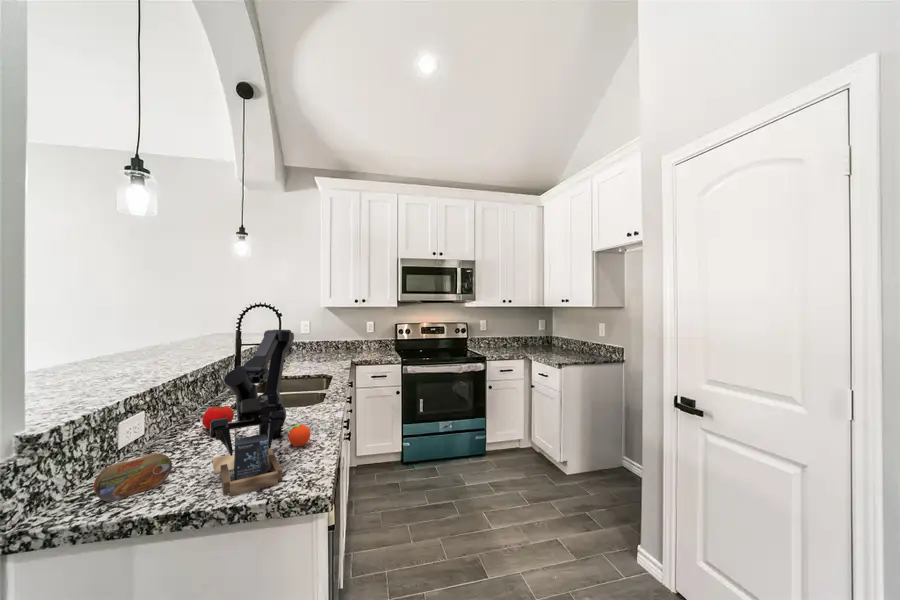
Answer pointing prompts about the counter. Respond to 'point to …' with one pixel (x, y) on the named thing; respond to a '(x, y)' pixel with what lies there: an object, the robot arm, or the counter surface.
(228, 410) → the tomato
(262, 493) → the counter surface
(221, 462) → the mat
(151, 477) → the tin
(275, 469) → the brown u-shaped bracket
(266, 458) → the box
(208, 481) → the counter surface
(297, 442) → the clementine
